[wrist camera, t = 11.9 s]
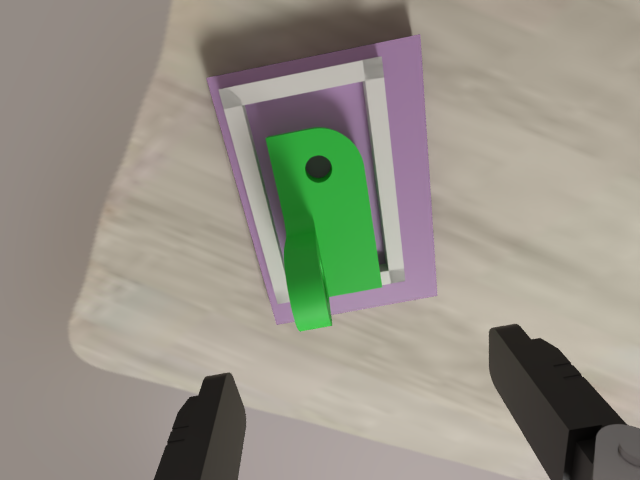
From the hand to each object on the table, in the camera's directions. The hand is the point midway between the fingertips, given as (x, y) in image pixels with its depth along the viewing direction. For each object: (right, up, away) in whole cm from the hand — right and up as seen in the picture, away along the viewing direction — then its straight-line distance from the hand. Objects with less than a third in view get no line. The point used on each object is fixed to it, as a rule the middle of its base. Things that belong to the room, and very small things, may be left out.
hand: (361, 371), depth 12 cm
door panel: (0, +8, +19) cm, 20 cm away
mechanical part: (-1, +6, +17) cm, 18 cm away
